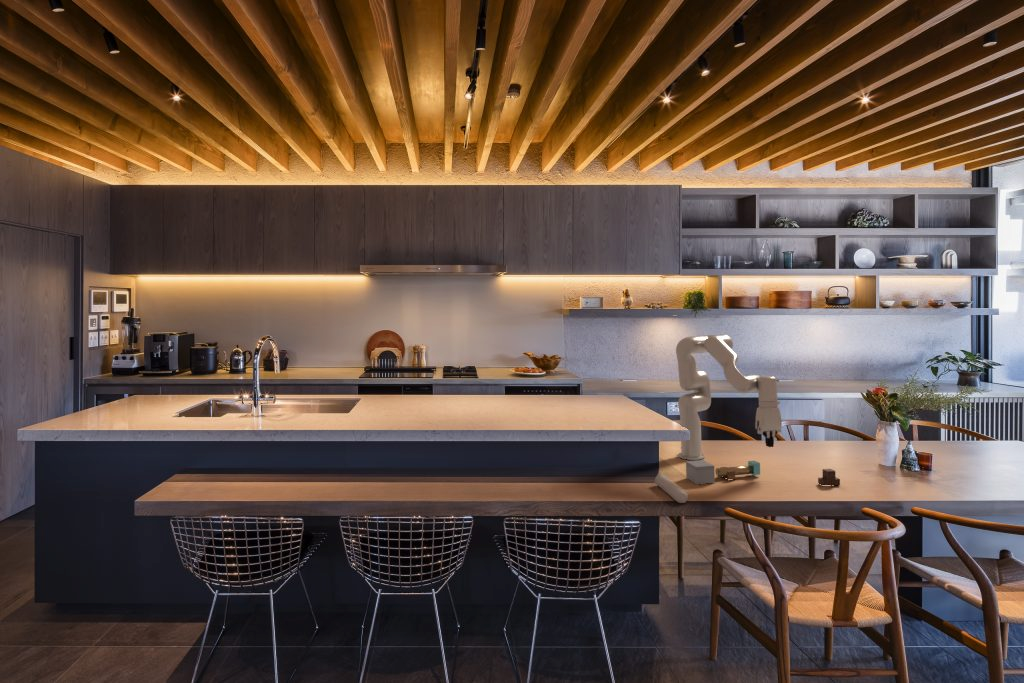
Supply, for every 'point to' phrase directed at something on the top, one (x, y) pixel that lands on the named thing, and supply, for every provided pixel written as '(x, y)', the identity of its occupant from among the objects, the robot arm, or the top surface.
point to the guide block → (729, 474)
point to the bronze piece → (740, 469)
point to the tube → (671, 488)
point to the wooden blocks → (829, 478)
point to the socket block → (700, 472)
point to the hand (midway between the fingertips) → (769, 446)
